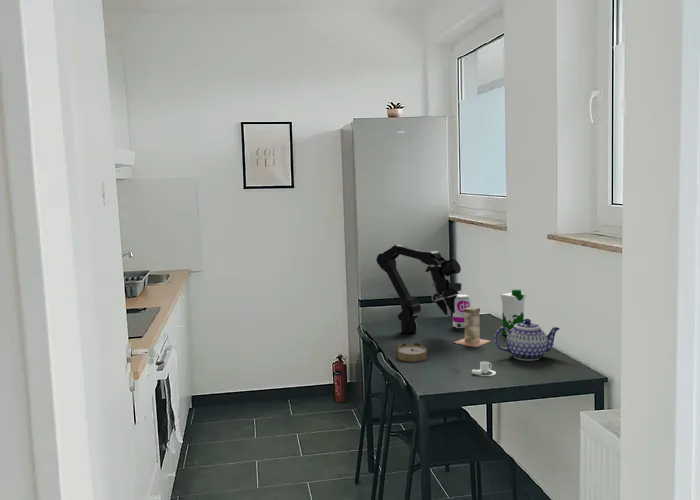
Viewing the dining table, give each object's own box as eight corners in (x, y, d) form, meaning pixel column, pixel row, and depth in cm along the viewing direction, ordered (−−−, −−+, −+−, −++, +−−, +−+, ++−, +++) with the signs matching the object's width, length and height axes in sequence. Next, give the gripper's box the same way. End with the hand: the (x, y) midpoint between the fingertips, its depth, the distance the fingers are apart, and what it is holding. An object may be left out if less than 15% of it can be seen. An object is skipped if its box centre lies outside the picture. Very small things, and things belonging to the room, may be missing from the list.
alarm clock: (399, 355, 251) (395, 339, 266) (399, 367, 253) (395, 350, 267) (429, 354, 252) (422, 338, 266) (428, 366, 253) (422, 349, 268)
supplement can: (472, 329, 305) (471, 296, 303) (454, 329, 305) (453, 297, 304) (469, 325, 313) (469, 293, 312) (451, 325, 313) (451, 294, 312)
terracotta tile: (453, 343, 279) (453, 342, 279) (468, 338, 287) (468, 337, 287) (476, 347, 271) (476, 345, 271) (490, 342, 279) (490, 340, 279)
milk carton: (513, 337, 286) (513, 292, 284) (498, 334, 293) (498, 289, 291) (527, 335, 290) (527, 289, 288) (512, 331, 298) (512, 287, 296)
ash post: (464, 341, 279) (463, 308, 278) (470, 339, 282) (469, 306, 281) (474, 343, 276) (473, 309, 274) (480, 340, 279) (479, 308, 278)
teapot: (497, 363, 247) (497, 323, 245) (490, 352, 262) (490, 315, 261) (565, 362, 246) (566, 322, 245) (554, 351, 262) (554, 314, 260)
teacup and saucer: (472, 377, 232) (472, 365, 231) (469, 370, 239) (469, 359, 239) (497, 377, 231) (497, 365, 231) (494, 370, 239) (494, 359, 239)
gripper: (463, 271, 281) (474, 307, 279) (449, 277, 299) (459, 310, 298) (439, 278, 279) (450, 314, 277) (426, 283, 297) (436, 317, 295)
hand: (449, 313), depth 287 cm, fingers open, 9 cm apart
